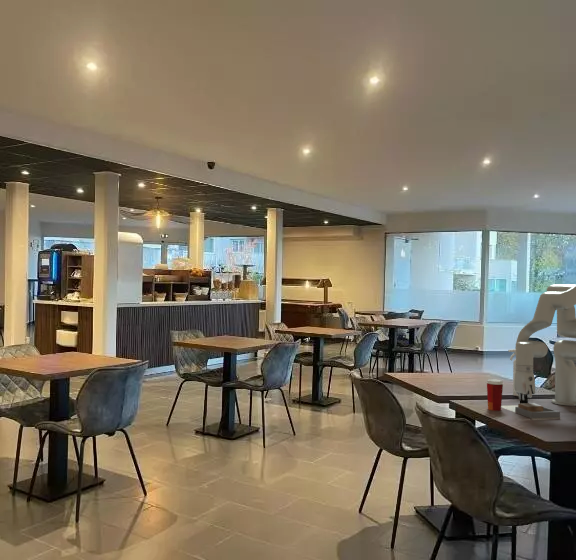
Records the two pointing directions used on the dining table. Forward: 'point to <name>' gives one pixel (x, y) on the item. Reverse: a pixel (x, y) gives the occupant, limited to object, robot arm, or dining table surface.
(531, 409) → the white wood-edged tile
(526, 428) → the dining table surface
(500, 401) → the paper cup
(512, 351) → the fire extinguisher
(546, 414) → the dock bay
